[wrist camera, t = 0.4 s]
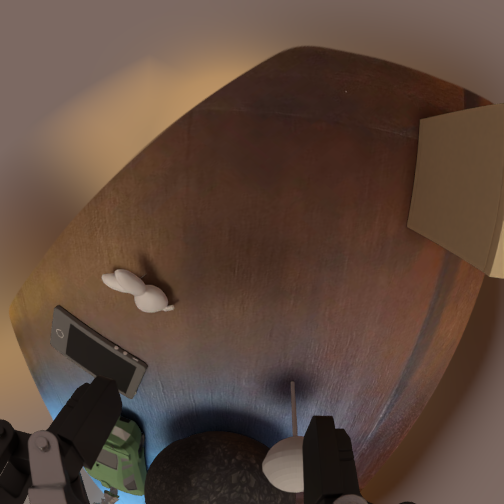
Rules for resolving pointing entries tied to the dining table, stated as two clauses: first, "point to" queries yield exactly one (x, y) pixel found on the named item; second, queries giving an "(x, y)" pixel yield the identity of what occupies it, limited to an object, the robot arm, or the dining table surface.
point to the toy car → (122, 459)
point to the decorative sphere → (212, 472)
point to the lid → (497, 244)
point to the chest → (459, 181)
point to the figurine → (110, 496)
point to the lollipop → (286, 458)
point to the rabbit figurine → (138, 291)
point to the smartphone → (95, 352)
